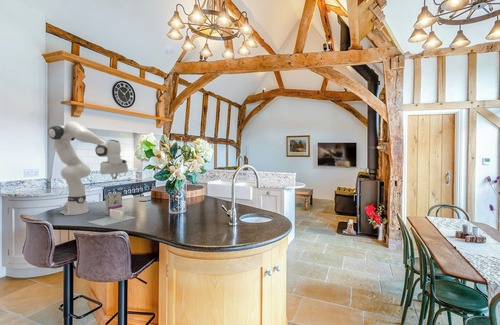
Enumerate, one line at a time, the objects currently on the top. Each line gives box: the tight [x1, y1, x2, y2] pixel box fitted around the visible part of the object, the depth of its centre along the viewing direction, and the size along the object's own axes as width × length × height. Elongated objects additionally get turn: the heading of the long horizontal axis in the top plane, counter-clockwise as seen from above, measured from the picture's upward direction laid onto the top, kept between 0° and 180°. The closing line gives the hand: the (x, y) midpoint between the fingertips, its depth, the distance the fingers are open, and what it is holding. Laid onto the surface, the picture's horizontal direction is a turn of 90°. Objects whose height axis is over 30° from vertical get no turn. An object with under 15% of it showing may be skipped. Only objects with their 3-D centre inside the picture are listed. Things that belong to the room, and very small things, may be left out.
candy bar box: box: [104, 192, 123, 216], centre depth 207 cm, size 11×5×16 cm, turn 146°
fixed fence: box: [109, 205, 126, 219], centre depth 195 cm, size 2×12×7 cm, turn 150°
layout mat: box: [87, 215, 136, 227], centre depth 188 cm, size 19×25×1 cm
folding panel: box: [111, 210, 123, 220], centre depth 187 cm, size 2×12×6 cm, turn 62°
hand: (114, 179), depth 195 cm, fingers closed
